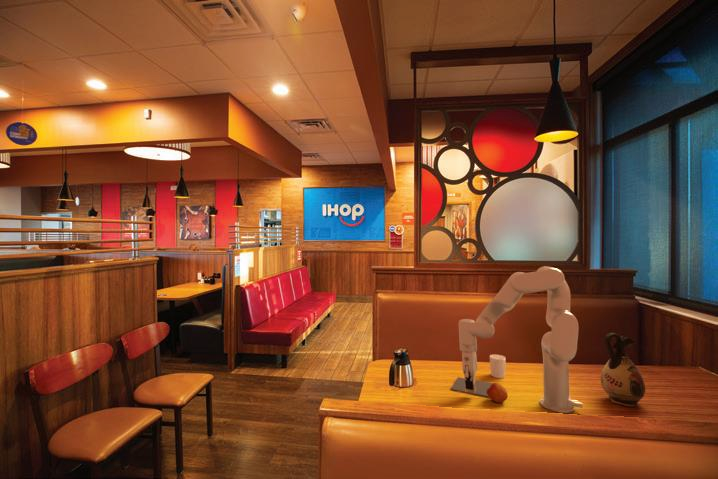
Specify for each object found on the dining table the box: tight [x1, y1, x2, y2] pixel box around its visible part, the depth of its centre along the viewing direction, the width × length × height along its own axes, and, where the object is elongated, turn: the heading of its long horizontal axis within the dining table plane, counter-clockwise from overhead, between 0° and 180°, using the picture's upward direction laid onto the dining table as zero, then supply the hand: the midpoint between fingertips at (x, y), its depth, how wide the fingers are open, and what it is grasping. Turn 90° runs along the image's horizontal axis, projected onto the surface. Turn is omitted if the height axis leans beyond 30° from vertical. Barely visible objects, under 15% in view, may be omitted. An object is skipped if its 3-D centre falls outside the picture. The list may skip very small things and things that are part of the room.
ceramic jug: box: [600, 332, 646, 408], centre depth 147 cm, size 17×15×30 cm
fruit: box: [487, 382, 508, 404], centre depth 148 cm, size 8×8×8 cm
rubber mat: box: [450, 376, 494, 399], centre depth 162 cm, size 18×16×1 cm
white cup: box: [489, 354, 507, 379], centre depth 176 cm, size 8×8×10 cm
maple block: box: [463, 372, 476, 393], centre depth 152 cm, size 4×4×9 cm
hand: (470, 386), depth 151 cm, fingers closed on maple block, 4 cm apart
